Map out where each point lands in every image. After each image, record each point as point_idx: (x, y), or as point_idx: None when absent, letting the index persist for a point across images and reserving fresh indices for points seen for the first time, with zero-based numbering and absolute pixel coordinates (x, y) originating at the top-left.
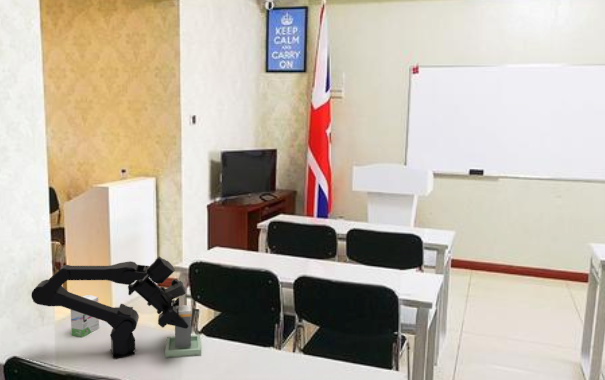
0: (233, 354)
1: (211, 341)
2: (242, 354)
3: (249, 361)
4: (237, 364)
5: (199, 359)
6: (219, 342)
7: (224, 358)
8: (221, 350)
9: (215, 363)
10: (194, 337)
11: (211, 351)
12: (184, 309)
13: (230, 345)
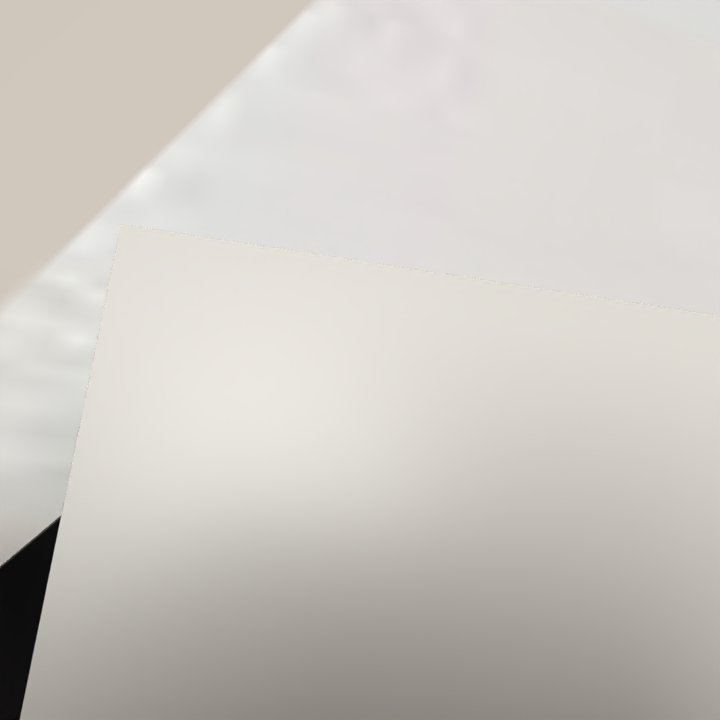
0: (528, 95)
1: (194, 215)
2: (541, 30)
3: (664, 20)
4: (701, 114)
5: None
6: (245, 146)
7: (588, 182)
8: (429, 170)
9: (665, 274)
10: None
11: (429, 261)
12: (612, 597)
13: (343, 69)
